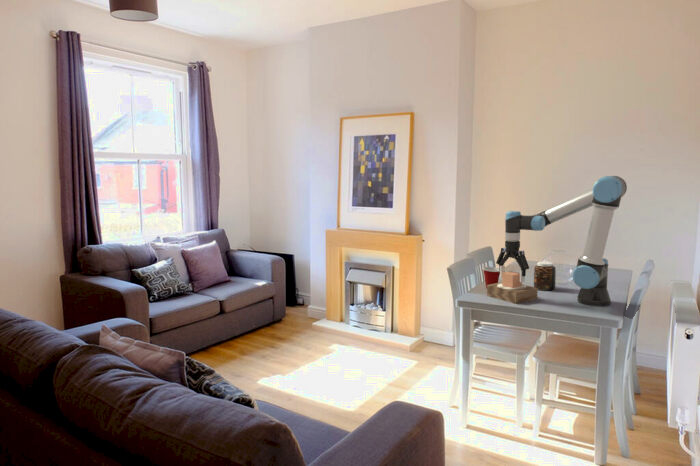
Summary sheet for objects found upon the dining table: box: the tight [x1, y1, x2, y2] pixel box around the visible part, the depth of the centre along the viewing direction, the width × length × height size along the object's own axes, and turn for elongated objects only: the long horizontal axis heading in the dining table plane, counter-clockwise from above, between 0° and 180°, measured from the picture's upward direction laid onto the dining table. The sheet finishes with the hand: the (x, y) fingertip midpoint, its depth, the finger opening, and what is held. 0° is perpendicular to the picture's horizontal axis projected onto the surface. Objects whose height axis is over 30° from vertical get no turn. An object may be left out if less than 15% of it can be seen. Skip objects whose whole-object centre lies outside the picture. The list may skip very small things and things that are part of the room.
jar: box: [533, 261, 557, 292], centre depth 279 cm, size 12×12×15 cm
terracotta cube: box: [501, 271, 523, 288], centre depth 261 cm, size 7×7×7 cm
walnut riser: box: [486, 281, 538, 305], centre depth 262 cm, size 20×16×6 cm
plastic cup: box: [482, 266, 500, 290], centre depth 282 cm, size 11×11×12 cm
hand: (511, 279), depth 261 cm, fingers open, 13 cm apart
